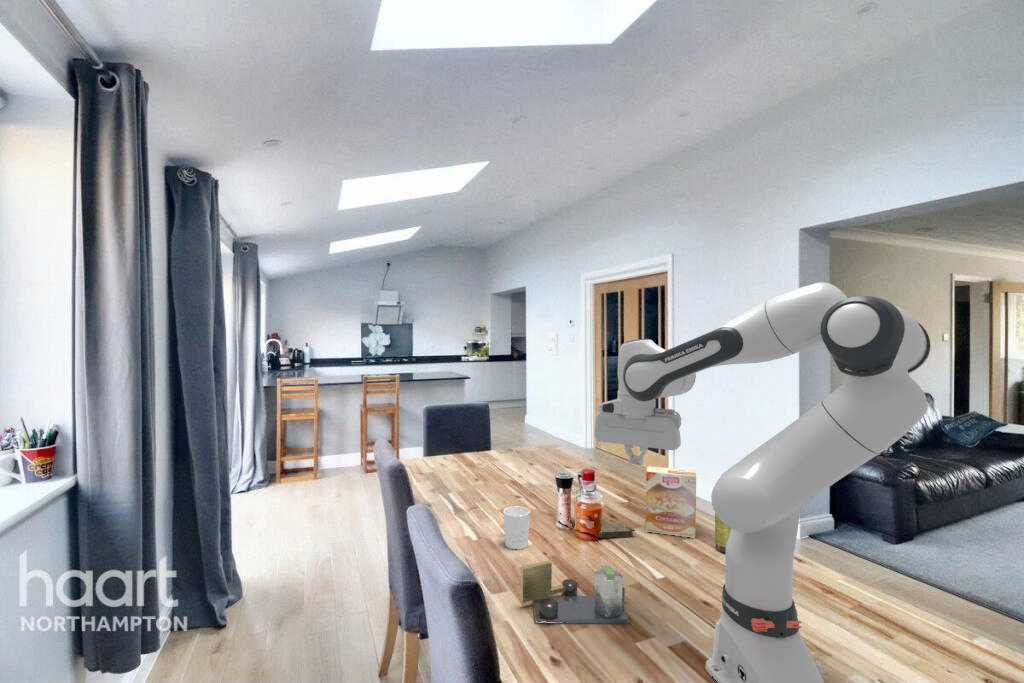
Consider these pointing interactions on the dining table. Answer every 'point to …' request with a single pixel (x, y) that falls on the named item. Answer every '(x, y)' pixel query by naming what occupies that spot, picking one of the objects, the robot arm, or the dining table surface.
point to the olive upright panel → (542, 582)
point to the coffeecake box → (670, 501)
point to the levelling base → (587, 603)
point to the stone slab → (611, 529)
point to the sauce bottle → (721, 534)
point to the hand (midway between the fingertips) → (636, 463)
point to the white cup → (516, 527)
